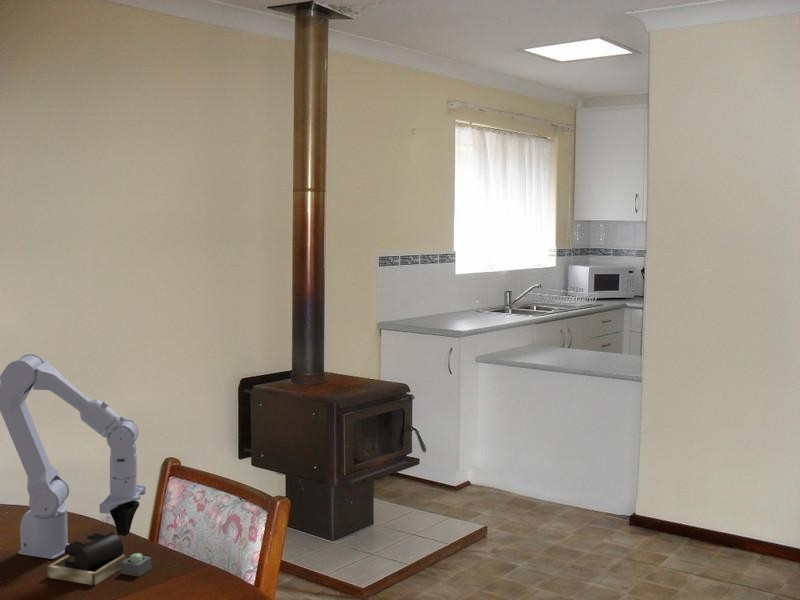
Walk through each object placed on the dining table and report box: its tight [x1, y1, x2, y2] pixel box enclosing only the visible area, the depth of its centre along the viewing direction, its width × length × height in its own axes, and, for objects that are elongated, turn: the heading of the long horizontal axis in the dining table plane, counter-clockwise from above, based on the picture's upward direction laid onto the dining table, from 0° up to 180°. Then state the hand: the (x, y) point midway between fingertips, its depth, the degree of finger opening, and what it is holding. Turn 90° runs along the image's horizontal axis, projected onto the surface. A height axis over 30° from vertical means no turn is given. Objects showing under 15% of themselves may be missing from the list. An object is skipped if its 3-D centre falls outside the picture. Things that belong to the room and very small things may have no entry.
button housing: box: [120, 555, 152, 578], centre depth 182 cm, size 4×4×2 cm
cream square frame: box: [46, 554, 127, 586], centre depth 181 cm, size 12×10×2 cm
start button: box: [129, 552, 143, 563], centre depth 182 cm, size 2×2×3 cm
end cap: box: [64, 532, 124, 572], centre depth 181 cm, size 10×7×7 cm
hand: (123, 534), depth 193 cm, fingers closed
